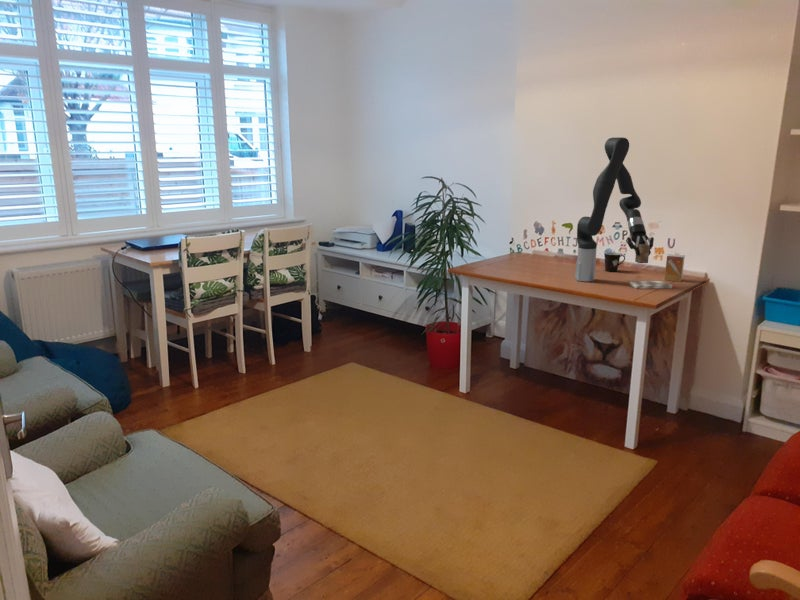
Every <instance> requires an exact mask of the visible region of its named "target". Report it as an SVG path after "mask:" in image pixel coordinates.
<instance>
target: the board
mask: <svg viewBox="0 0 800 600" xmlns="http://www.w3.org/2000/svg"><path fill="white" fill-rule="evenodd" d="M628 285H630V286H631V287H633V288H634V289H635V290H640V289H641V290H642V289H643V290H645V289H649V290H650V289H672V288H673V285H672V284H670V283H668V282H667V281H666V280H641V281H640V280H638V281H637V280H635V281H634V280H633V281H632V280H631V281H630V280H629V281H628Z"/></svg>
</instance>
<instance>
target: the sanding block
mask: <svg viewBox="0 0 800 600" xmlns="http://www.w3.org/2000/svg"><path fill="white" fill-rule="evenodd" d="M649 247H650V245H647V244H638V248H639V251H640V255H639V256H637V255H636V254H635V260H634V262H635V263H637V264H648V263H649V256H650V255H649Z"/></svg>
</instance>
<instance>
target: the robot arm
mask: <svg viewBox="0 0 800 600" xmlns="http://www.w3.org/2000/svg"><path fill="white" fill-rule="evenodd" d="M629 149H630V142H629V139H628V138H627V137H610V138H608V139H607V140H606V141H605V143H604V151H605V154H606V156H607V158H608V160H609V162H608V164H607V165H606V167H605V168H603V170H602V172H600V174H599V175H598V177H597V178H596V181H595V183H594V187H593V190H592V198H593V209H592V212H591V215H590V216H582V217H581V218H579V220H578V222H577V227H576V242H577V244H578V245H577V260H576V262H575V271H574V272H575V274H574V279H575V280H576V281H577V282H595V277H596V276H595V274H596V263H597V262H596V261H597V260H596V259H597V248H598V247H597V242H596V241H595V240H594V239H593V236H597V235H598V234H599V233H600V231H601V230H602V226H603V223H604V219H605V215H606V210H607V208H608V204H609V201H610V198H611V196H612V193H613V190H614V188H615V184H616V181H617V185H618V189H619V193H620V194H622V195H629V196H625V197H622V198H621V199H620V200H619V207H620V209H621V210H622V212H623V213H624V215H625V216H626V222H627V226H628V230H629V235H630V237H629V236H627V238H626V240H625V242H626V244H627V245H628V247H629V248H630V249H631V250H634V252H635V256H636V255H637V256H639V255H640V251H639V248H638V244H647V245H650V247H649V256H650V255H651V253H652V252H651V250H652V248H653V247H654V239H655V238H654V237H652V236H651V237H649V236H647V232H646V231H647V230H646V227H645V224H644V221H643V218H642V215H641V212H640V210H639V208H640V207H641V205H642V201H641V198H640V196H639V195H638V193H637V192H636V190H635V187H634V183H633V178H632V176H631V173H630V172H629V170H628V169H627V167H626V166H625V165H624V162H625V159H626V157H627V154H628V152H629Z"/></svg>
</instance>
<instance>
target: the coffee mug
mask: <svg viewBox="0 0 800 600" xmlns="http://www.w3.org/2000/svg"><path fill="white" fill-rule="evenodd" d="M621 257H623V259H622V261H620V259H621ZM625 260H626V256H625V255H623V254H621V252H614V251H613V252H612V251H610V252H609V251H606V252H604V268H605V269H604V270H605V272H608V273H616V272H618V269H619V266H620V265H621V264H623V263H624V262H625Z"/></svg>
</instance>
